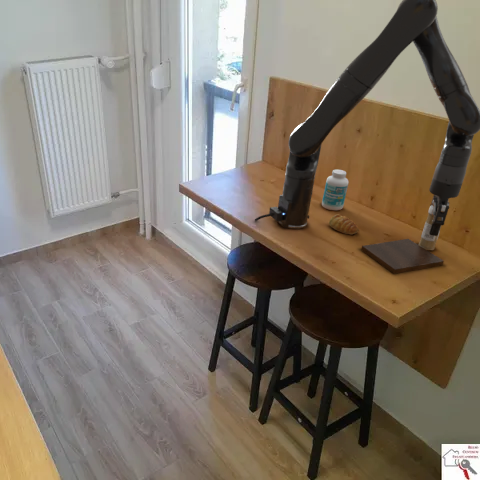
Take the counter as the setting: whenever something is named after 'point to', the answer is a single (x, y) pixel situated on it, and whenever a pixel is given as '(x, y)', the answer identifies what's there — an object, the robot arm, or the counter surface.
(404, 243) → the walnut board
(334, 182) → the pill bottle
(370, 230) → the counter surface
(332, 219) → the pastry
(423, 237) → the sprinkles bottle
